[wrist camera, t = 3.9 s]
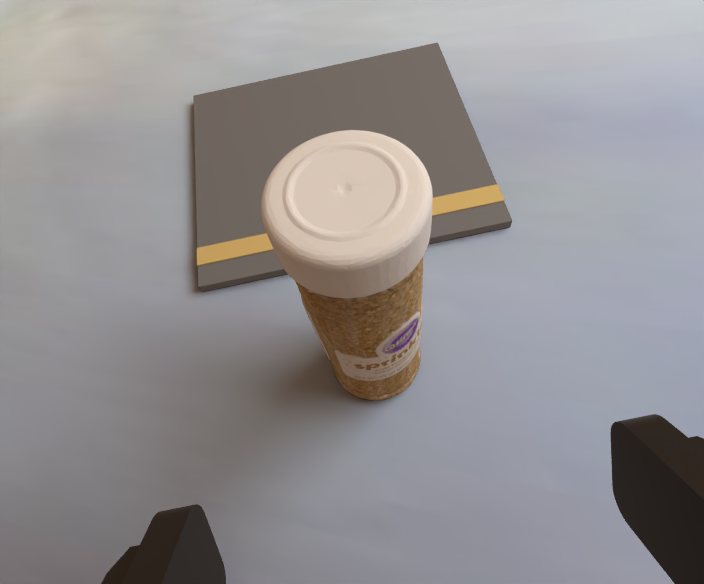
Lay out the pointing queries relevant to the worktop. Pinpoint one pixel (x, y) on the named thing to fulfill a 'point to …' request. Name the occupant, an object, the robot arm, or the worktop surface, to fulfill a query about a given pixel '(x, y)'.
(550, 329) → the worktop surface
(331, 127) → the line mat
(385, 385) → the sprinkles bottle
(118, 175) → the worktop surface
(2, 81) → the worktop surface
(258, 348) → the worktop surface
